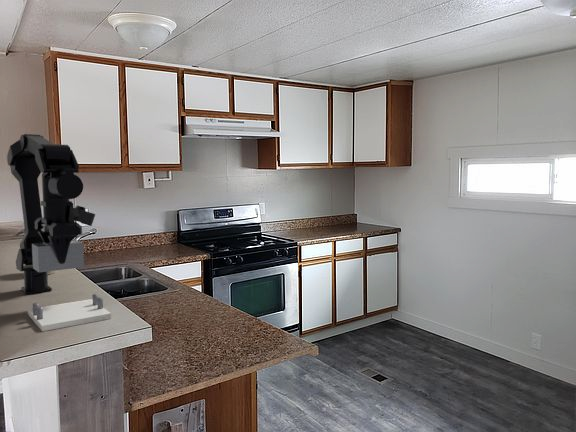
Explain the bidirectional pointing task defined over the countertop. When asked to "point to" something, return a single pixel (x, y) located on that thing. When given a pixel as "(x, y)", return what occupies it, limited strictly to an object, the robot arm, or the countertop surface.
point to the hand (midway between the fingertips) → (58, 261)
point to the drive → (48, 261)
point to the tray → (69, 313)
